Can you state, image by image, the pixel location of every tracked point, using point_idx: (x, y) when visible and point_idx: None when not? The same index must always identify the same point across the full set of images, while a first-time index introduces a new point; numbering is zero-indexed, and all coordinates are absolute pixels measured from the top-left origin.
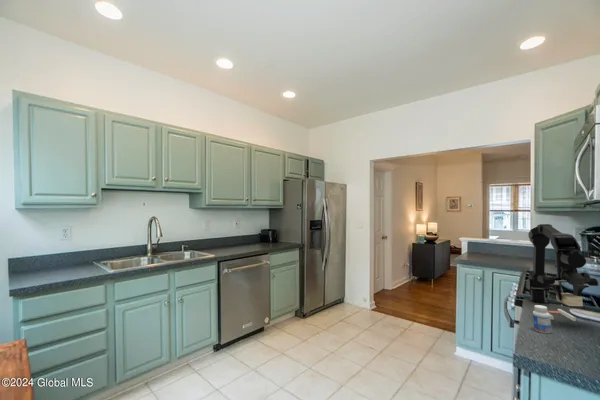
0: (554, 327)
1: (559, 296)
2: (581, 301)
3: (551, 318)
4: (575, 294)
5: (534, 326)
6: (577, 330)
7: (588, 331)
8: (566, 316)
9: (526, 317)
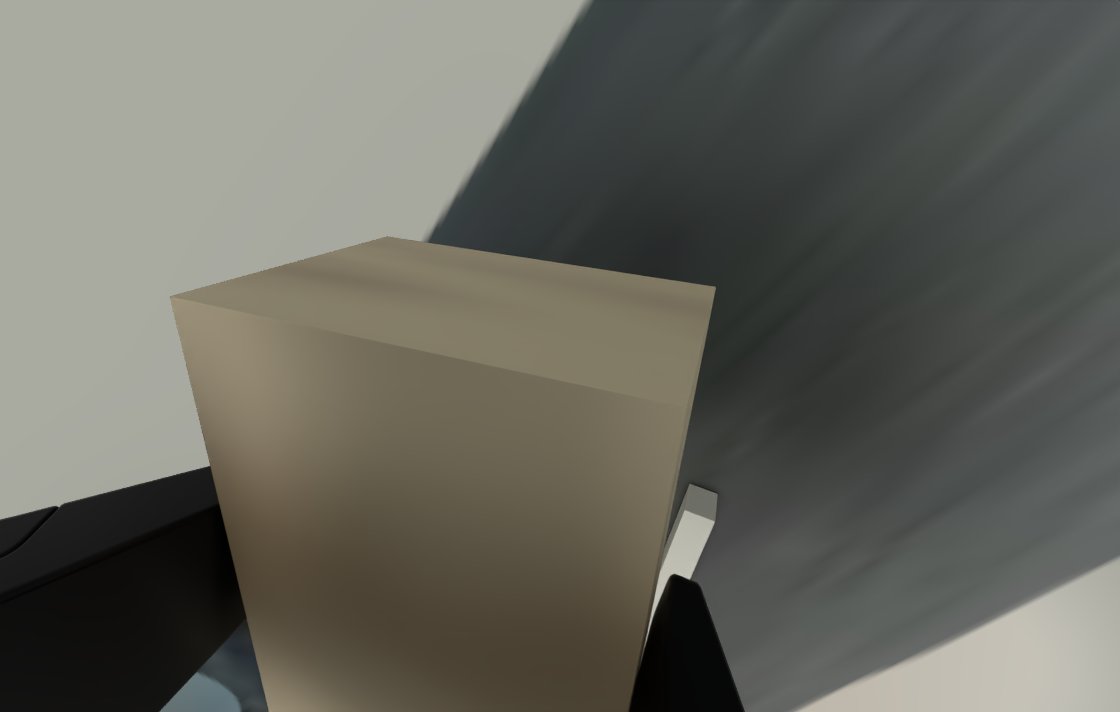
0: (975, 238)
1: (727, 690)
2: (316, 268)
3: (711, 499)
4: (207, 590)
5: None
6: (723, 115)
7: (603, 82)
8: None
9: (991, 610)
